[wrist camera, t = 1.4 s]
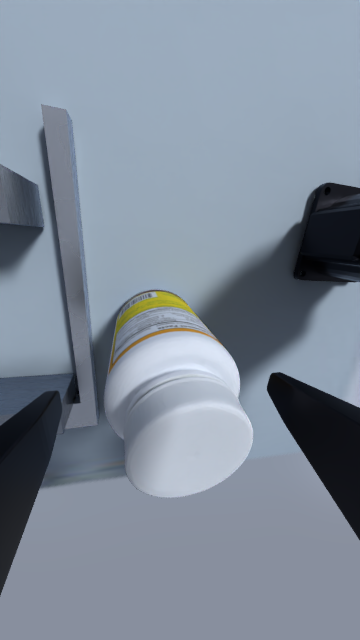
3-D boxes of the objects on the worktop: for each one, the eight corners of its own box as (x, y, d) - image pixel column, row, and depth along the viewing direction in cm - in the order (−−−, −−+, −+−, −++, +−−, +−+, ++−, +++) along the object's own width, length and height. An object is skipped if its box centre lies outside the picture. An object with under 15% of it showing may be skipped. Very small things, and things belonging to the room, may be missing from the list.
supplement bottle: (174, 361, 17) (228, 513, 8) (106, 345, 15) (67, 521, 6) (202, 301, 15) (311, 398, 6) (130, 274, 13) (130, 357, 4)
